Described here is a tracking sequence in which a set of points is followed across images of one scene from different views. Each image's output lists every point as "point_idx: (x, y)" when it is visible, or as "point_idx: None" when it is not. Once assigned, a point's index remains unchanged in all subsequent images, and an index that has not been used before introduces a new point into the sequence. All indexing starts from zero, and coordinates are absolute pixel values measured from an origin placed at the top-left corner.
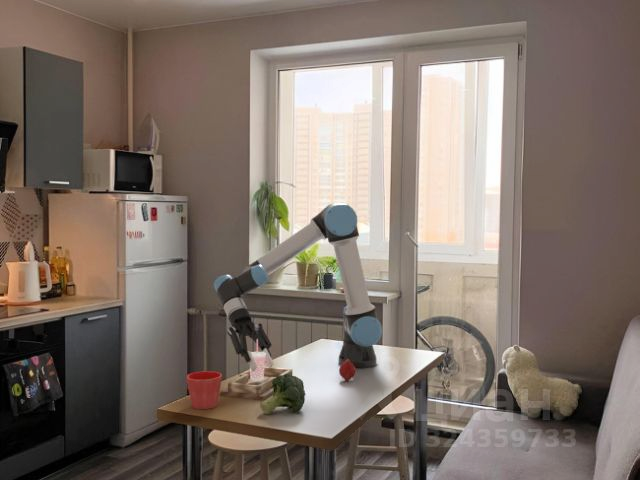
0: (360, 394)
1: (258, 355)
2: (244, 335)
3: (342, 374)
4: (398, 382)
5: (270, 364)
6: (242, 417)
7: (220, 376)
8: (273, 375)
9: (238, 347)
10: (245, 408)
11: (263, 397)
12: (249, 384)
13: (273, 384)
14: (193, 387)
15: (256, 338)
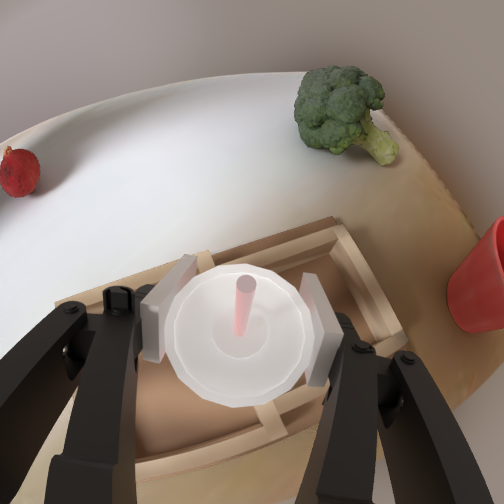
0: (122, 117)
1: (274, 280)
2: (336, 494)
3: (36, 175)
4: (25, 133)
5: (194, 272)
6: (424, 183)
7: (497, 219)
8: None
9: (427, 371)
10: (401, 213)
11: (332, 219)
12: None
13: (361, 126)
14: None
15: (125, 426)
